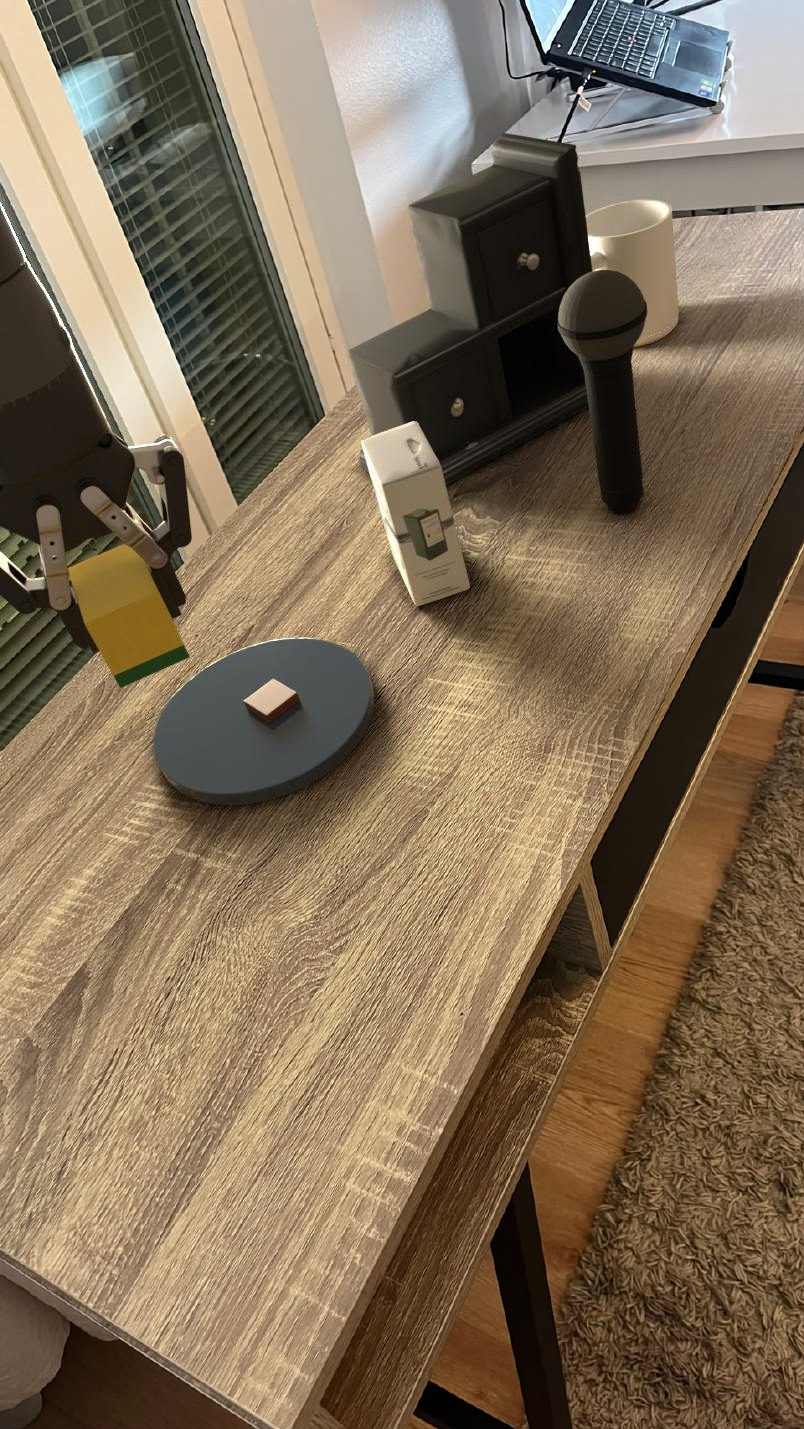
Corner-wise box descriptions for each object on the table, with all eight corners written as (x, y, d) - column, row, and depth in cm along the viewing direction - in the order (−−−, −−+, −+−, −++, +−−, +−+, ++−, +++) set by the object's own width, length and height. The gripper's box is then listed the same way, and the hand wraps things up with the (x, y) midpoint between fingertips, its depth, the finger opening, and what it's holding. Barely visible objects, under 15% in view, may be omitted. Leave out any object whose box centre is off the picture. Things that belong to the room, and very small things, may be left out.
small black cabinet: (414, 505, 99) (347, 249, 84) (358, 468, 107) (287, 227, 92) (611, 399, 105) (582, 142, 90) (545, 371, 113) (507, 130, 98)
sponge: (120, 688, 64) (84, 624, 61) (101, 630, 69) (67, 568, 66) (190, 657, 65) (158, 591, 61) (165, 602, 70) (135, 538, 67)
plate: (188, 842, 73) (181, 831, 73) (139, 707, 86) (133, 696, 85) (410, 737, 76) (406, 725, 75) (330, 621, 89) (326, 610, 88)
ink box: (391, 556, 94) (356, 436, 86) (445, 538, 94) (414, 416, 86) (415, 609, 87) (379, 483, 79) (472, 589, 87) (443, 462, 80)
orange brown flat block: (269, 723, 79) (266, 716, 78) (246, 708, 81) (243, 701, 80) (300, 700, 80) (297, 692, 80) (276, 686, 82) (273, 678, 82)
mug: (693, 310, 115) (686, 197, 107) (649, 364, 109) (638, 248, 101) (611, 309, 120) (599, 201, 112) (564, 360, 114) (548, 249, 106)
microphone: (614, 480, 94) (586, 251, 81) (679, 495, 90) (661, 257, 77) (569, 519, 91) (533, 289, 78) (634, 537, 87) (608, 297, 74)
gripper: (120, 300, 59) (227, 555, 70) (-132, 399, 57) (19, 645, 68) (147, 340, 53) (258, 610, 64) (-132, 452, 51) (33, 710, 62)
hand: (135, 627), depth 66 cm, fingers closed on sponge, 4 cm apart
